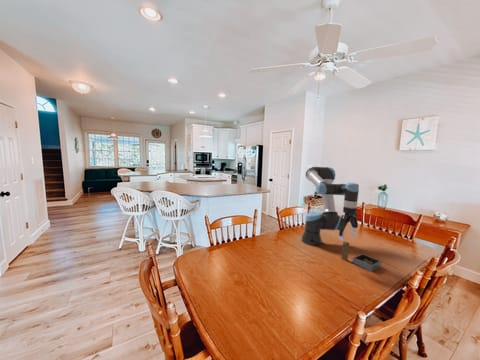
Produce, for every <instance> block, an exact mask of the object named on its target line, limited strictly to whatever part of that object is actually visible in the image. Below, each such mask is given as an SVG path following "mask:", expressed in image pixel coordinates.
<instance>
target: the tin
mask: <svg viewBox="0 0 480 360" xmlns="http://www.w3.org/2000/svg"><path fill="white" fill-rule="evenodd" d="M352 264H354V265H356V266H358V267H360V268H363V269H365V270H366V271H369V272H371V273H372V272H374V271H376V270H378V269H379V268H381V267H382V260H379V259H377V258H374V257H371V256H370V255H367V254H364V253H361V254H358V255H356V256H354V257H352Z"/></svg>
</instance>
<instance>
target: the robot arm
mask: <svg viewBox="0 0 480 360" xmlns="http://www.w3.org/2000/svg"><path fill="white" fill-rule="evenodd" d="M305 178H306V179H307V180H308V181H309V182H311V183H312V184H313V185H314V186H315V191H316V194H318V195H321V198H322V206H323V208H322V209H323V211H322V213H321V212H318V211H311V212H307V213H306V215H305V223H304V224H305V225H304V232H303V234H302V236H301V242H303V243H304V244H306V245H311V246H320V245H322V242H323V241H322V240H323V239H322V235H321V230H322V231H323V230H324V231H339V234H338V241H340V242H344V241H345V240H344V238H345V230H346V227H347V225H348V223H350V225H351V227H350V232H349V235H350V236H349V237H351V238H355V237H356V231H357V229H358V228H359V227H358V226H359V223H358V219H357V216H358V215H357V209H358V208H357V207H358V201H359V192H360V188H359V187H360V185H359V184H358V183H355V182H346V183H334V181H335V180H336V171H335V170H334V168H332V167H329V166H311V167H310V168H308V169H307V170H306V172H305ZM334 195H335V196H344V199H343V207H342V208H343V209H342V212H343V213H344V215H343V214H342V215H339V213H338V211H336V206H335V198H334Z"/></svg>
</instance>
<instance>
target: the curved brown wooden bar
mask: <svg viewBox="0 0 480 360" xmlns="http://www.w3.org/2000/svg"><path fill="white" fill-rule="evenodd" d="M349 248H350V242H349V241H345V240H343V241H342V249H341V257H340V259H341V260H342V261H345V262H347V261H348V257H349Z"/></svg>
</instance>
